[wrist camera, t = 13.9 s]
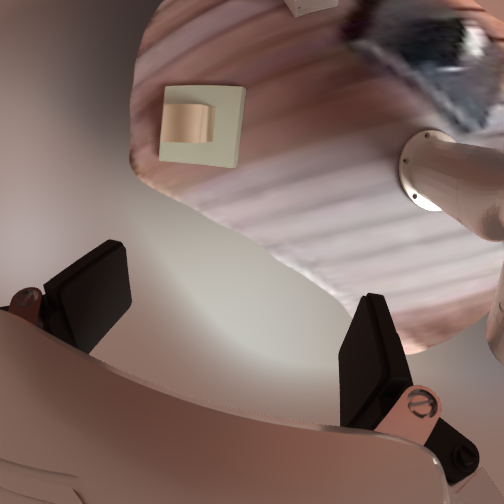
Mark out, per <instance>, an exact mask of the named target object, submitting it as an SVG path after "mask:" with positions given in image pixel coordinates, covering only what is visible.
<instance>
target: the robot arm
mask: <svg viewBox="0 0 504 504" xmlns="http://www.w3.org/2000/svg"><path fill="white" fill-rule="evenodd" d="M425 134H426V137H425ZM404 159H405V162H404V161H403V160H404ZM399 177H400V181H401V185H402V187H403V189H404V191H405V193H406V194H407V196H408V197H409V198H410V199H411V200H412V201H413V202H414V203H415V204H416V205H418V206H419V207H421V208H423V209H426V210H429V211H441V210H443V211H444V212H446V213H447V214H448V215H450V216H451V217H453V218H454V219H456V220H457V221H458V222H460V223H461V224H462V225H464V226H465V227H466V228H468V229H469V230H470V231H472V232H473V233H475V234H476V235H477V236H479V237H480V238H482V239H485V240H487V241H493V242H500V241H504V151H501V150H496V149H491V148H486V147H480V146H474V145H468V144H461V143H457V142H456V141H455V140H454V139H453V138H452V137H450V136H449V135H447V134H446V133H444V132H441V131H437V130H424V131H421V132H418V133H417V134H415V135H413V136H412V137H411V138H410V139H409V140H408V141H407V143H406V144H405V146H404V147H403V150H402V152H401V155H400V159H399ZM413 194H414V196H413V197H412V195H413ZM43 286H44V290H45V293H46V294H44V295H42V292H41V290H39V289H38V288H35V287H29V288H25V289H22V290H20V291H19V292H17V293H16V294H15V295H14V296H13V298H12V300H11V302H10V305H9V306H4V307H0V504H504V498H503V496H502V495H501V493H500V491H499V490H498V488H497V487H496V485H495V484H494V482H493V481H492V480H491V478H490V477H489V475H488V474H487V472H486V471H485V469H484V468H483V467H481V468H480V469H479V468H478V464H479V452H478V450H477V448H476V446H475V445H474V444H473V443H472V442H471V441H470V440H468V439H467V438H466V437H465V436H463V435H462V434H460V433H459V432H458V431H457V430H455V429H454V428H453V427H452V426H450V425H449V424H448V423H446V422H445V421H444V420H443V419H441V418H440V414H441V410H442V406H441V402H440V399H439V397H438V396H437V395H436V393H435V392H433V391H432V390H431V389H429V388H427V387H425V386H421V385H415V386H414V385H413V382H412V378H411V374H410V370H409V367H408V363H407V360H406V357H405V353H404V350H403V347H402V344H401V340H400V337H399V335H398V333H397V332H396V329H395V326H394V323H393V321H392V318H391V315H390V312H389V309H388V306H387V304H386V301H385V298H384V296H383V295H379V294H374V293H368V294H367V295H366V296H362V297H361V299H360V302H359V305H358V307H357V310H356V312H355V315H354V317H353V320H352V322H351V325H350V327H349V329H348V332H347V334H346V336H345V339H344V341H343V343H342V346H341V348H340V351H339V357H338V359H339V382H340V426H331V425H322V424H315V423H307V422H301V421H295V420H289V419H283V418H278V417H271V416H267V415H262V414H256V413H252V412H248V411H243V410H239V409H235V408H231V407H227V406H223V405H219V404H216V403H212V402H208V401H205V400H202V399H199V398H195V397H192V396H189V395H186V394H182V393H180V392H177V391H174V390H171V389H168V388H165V387H162V386H160V385H157V384H154V383H152V382H149V381H147V380H144V379H141V378H139V377H136V376H134V375H131V374H129V373H127V372H124V371H122V370H120V369H118V368H115V367H113V366H111V365H109V364H107V363H105V362H102V361H100V360H98V359H96V358H94V357H92V356H90V355H88V354H89V353H90V352H91V351H92V349H93V348H94V347H95V346H96V345H97V344H98V342H99V341H100V340H101V339H102V338H103V337H104V336H105V335H106V333H107V332H108V331H109V330H110V329H111V328H112V327H113V325H114V324H115V323H116V322H117V321H118V320H119V319H120V318H121V317H122V316H123V314H124V313H125V312H126V311H127V310H128V309H129V307H130V306H131V303H132V298H131V290H130V283H129V275H128V267H127V256H126V248H125V247H124V246H123V244H122V243H121V242H119V241H115V240H110V239H109V240H107V241H106V242H104V243H102V244H101V245H99V246H98V247H96V248H95V249H93V250H92V251H90V252H89V253H87V254H86V255H84V256H83V257H81V258H80V259H79V260H77V261H76V262H74V263H73V264H71V265H70V266H69V267H67V268H66V269H64V270H63V271H62V272H60V273H59V274H57V275H56V276H55V277H53V278H52V279H51V280H49V281H48V282H47V283H45V284H44V285H43ZM486 337H487V342H488V346H489V348H490V350H491V352H492V354H493V355H494V356H495V358H496V359H497V360H498V361H499V362H500V363H501V364H502V365H504V262H503V266H502V270H501V274H500V278H499V282H498V286H497V289H496V293H495V296H494V299H493V303H492V306H491V309H490V313H489V316H488V320H487V326H486Z"/></svg>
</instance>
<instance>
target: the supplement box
mask: <svg viewBox="0 0 504 504" xmlns="http://www.w3.org/2000/svg"><path fill="white" fill-rule="evenodd" d="M284 2H285V3H286V5H287V6H288V8H289V9H290V11H291V12H292V14H293V15H294V17H295V18H296V17H299V16H302V15H305V14H308V13H312V12H315V11H319V10H324V9H328V8H333V7H337V6H338V2H339V0H284Z"/></svg>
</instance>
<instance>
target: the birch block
mask: <svg viewBox="0 0 504 504" xmlns="http://www.w3.org/2000/svg"><path fill="white" fill-rule="evenodd" d="M215 111H216V108H214V107H210V106H206V105H201V104H167V105H164V111H163V123H162V137H161V142H181V143H204V142H212V141H213V130H214V120H215Z"/></svg>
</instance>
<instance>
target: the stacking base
mask: <svg viewBox="0 0 504 504" xmlns="http://www.w3.org/2000/svg"><path fill="white" fill-rule="evenodd" d="M245 97H246V89H245V88H244V87H240V86H217V85H183V86H165V94H164V103H163V111H164V105H167V104H201V105H206V106H210V107H214V108H216V111H215V120H214V130H213V141H212V142H204V143H181V142H161V137H162V123H163V112H162V123H161V136H160V151H159V161H169V162H181V163H191V164H201V165H210V166H219V167H227V168H234V167H237V163H238V154H239V145H240V137H241V129H242V120H243V112H244V105H245Z"/></svg>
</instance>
